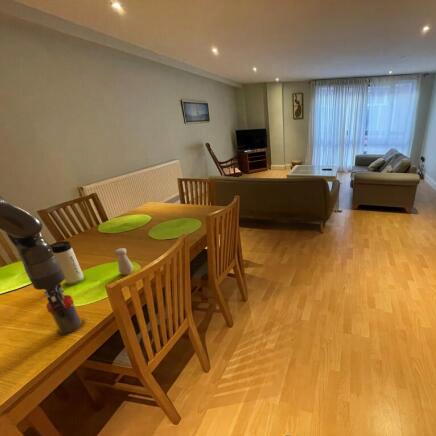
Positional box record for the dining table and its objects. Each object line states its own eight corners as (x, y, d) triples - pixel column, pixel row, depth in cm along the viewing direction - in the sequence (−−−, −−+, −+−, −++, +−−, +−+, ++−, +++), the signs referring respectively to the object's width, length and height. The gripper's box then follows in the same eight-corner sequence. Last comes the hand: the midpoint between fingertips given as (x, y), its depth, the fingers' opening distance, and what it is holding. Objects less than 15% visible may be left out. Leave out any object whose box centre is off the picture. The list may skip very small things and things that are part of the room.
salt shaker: (137, 270, 119) (130, 247, 114) (127, 277, 114) (119, 253, 109) (127, 268, 120) (120, 245, 115) (117, 275, 115) (109, 251, 110)
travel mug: (65, 280, 111) (48, 242, 103) (83, 275, 115) (68, 238, 108) (66, 287, 107) (48, 248, 99) (84, 281, 111) (69, 242, 103)
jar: (65, 336, 83) (53, 311, 78) (56, 330, 85) (44, 306, 81) (85, 323, 88) (75, 299, 84) (76, 318, 90) (65, 295, 86)
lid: (74, 306, 83) (71, 301, 82) (48, 316, 79) (46, 310, 78) (73, 297, 87) (70, 292, 86) (49, 306, 83) (46, 300, 82)
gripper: (60, 275, 75) (79, 316, 81) (59, 258, 84) (76, 295, 91) (26, 286, 70) (49, 329, 76) (29, 266, 80) (49, 305, 86)
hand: (64, 310), depth 84 cm, fingers closed on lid, 6 cm apart
